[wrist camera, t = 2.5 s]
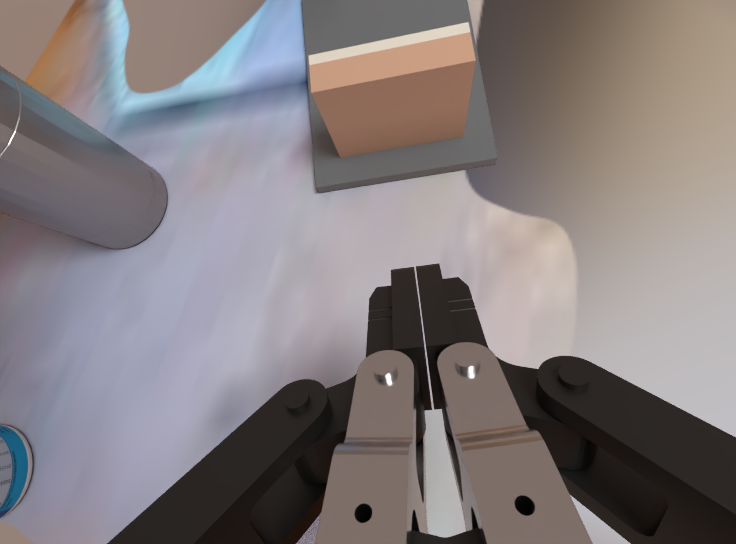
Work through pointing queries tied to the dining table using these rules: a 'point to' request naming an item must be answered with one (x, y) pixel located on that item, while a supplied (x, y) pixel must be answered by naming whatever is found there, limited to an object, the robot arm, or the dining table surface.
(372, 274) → the dining table surface
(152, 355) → the dining table surface
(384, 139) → the tile
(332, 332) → the dining table surface
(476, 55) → the slate board
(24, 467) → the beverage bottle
